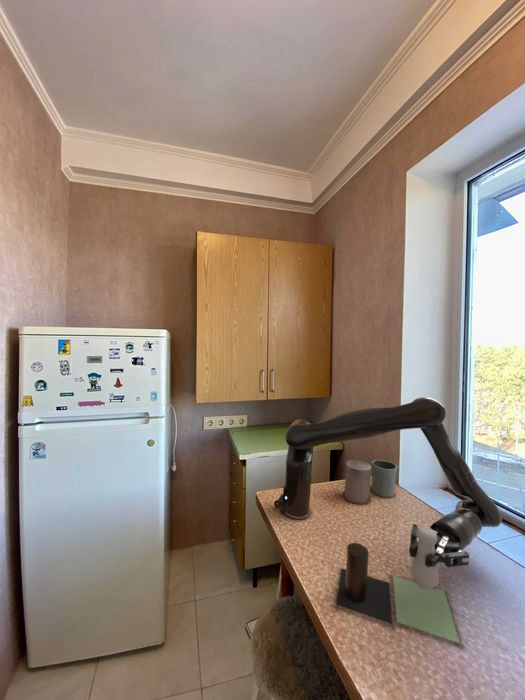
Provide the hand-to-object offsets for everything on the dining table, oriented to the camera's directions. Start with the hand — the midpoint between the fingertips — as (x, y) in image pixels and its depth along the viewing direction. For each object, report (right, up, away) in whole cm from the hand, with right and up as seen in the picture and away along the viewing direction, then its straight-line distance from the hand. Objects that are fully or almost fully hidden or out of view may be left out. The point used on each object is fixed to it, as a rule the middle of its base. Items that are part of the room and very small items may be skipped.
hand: (419, 557), depth 68 cm
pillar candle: (+2, -12, +51) cm, 52 cm away
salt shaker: (+2, -8, +2) cm, 8 cm away
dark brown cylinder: (-13, -12, +4) cm, 18 cm away
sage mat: (+2, -13, +2) cm, 14 cm away
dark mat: (-11, -13, +5) cm, 18 cm away
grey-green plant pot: (+15, -13, +57) cm, 60 cm away
